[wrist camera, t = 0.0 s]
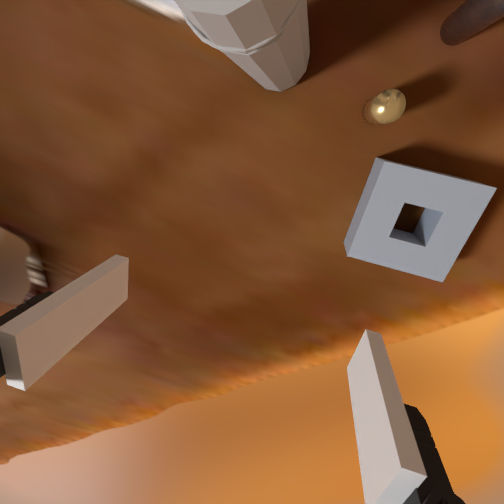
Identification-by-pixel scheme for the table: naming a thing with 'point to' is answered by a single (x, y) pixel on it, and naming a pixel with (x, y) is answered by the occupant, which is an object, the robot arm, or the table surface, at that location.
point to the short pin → (384, 107)
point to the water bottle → (255, 36)
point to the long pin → (470, 20)
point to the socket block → (429, 226)
